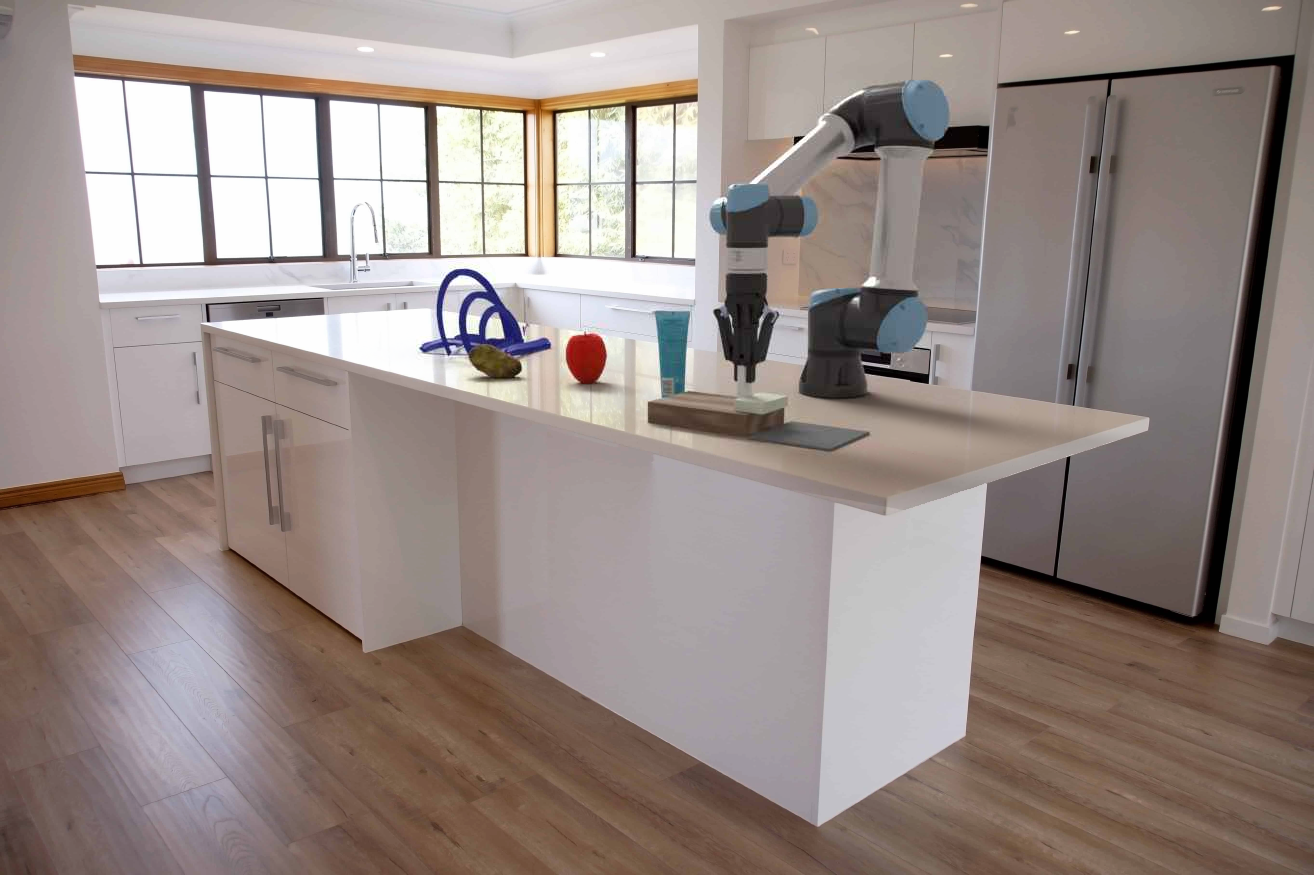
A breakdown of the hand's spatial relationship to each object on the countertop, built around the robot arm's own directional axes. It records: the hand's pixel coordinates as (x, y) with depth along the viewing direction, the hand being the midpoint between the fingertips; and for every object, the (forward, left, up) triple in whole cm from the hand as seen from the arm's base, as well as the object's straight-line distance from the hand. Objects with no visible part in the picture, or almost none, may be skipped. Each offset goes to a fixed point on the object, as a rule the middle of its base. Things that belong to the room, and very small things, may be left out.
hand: (744, 399), depth 179 cm
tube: (-14, -26, -5) cm, 30 cm away
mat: (0, +14, -5) cm, 15 cm away
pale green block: (0, +4, -1) cm, 4 cm away
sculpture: (-46, -116, -6) cm, 125 cm away
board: (0, -6, -5) cm, 8 cm away
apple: (-21, -56, -5) cm, 60 cm away
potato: (-14, -80, -6) cm, 82 cm away
